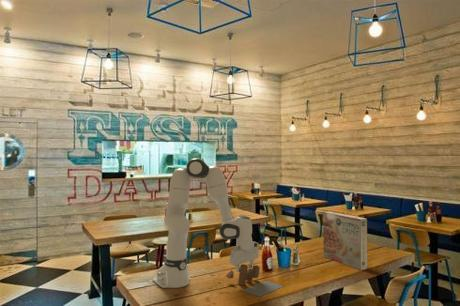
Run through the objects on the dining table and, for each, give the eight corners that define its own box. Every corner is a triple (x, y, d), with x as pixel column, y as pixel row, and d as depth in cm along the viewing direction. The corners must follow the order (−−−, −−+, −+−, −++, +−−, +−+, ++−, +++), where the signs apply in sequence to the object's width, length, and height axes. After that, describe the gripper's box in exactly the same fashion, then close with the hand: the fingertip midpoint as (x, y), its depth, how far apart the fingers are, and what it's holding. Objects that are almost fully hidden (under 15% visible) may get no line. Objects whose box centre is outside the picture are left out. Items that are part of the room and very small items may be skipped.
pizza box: (323, 259, 245) (323, 212, 246) (329, 258, 248) (329, 211, 248) (360, 272, 217) (360, 219, 217) (367, 271, 220) (366, 218, 220)
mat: (242, 290, 188) (242, 290, 188) (266, 281, 203) (266, 280, 203) (259, 296, 180) (259, 296, 180) (283, 286, 194) (283, 286, 194)
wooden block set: (254, 276, 208) (256, 259, 207) (261, 283, 200) (263, 266, 199) (225, 278, 200) (227, 261, 199) (231, 286, 193) (234, 268, 191)
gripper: (235, 249, 192) (235, 275, 192) (260, 242, 206) (260, 267, 206) (227, 247, 196) (227, 272, 196) (252, 240, 211) (252, 264, 211)
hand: (244, 269), depth 201 cm, fingers open, 8 cm apart
